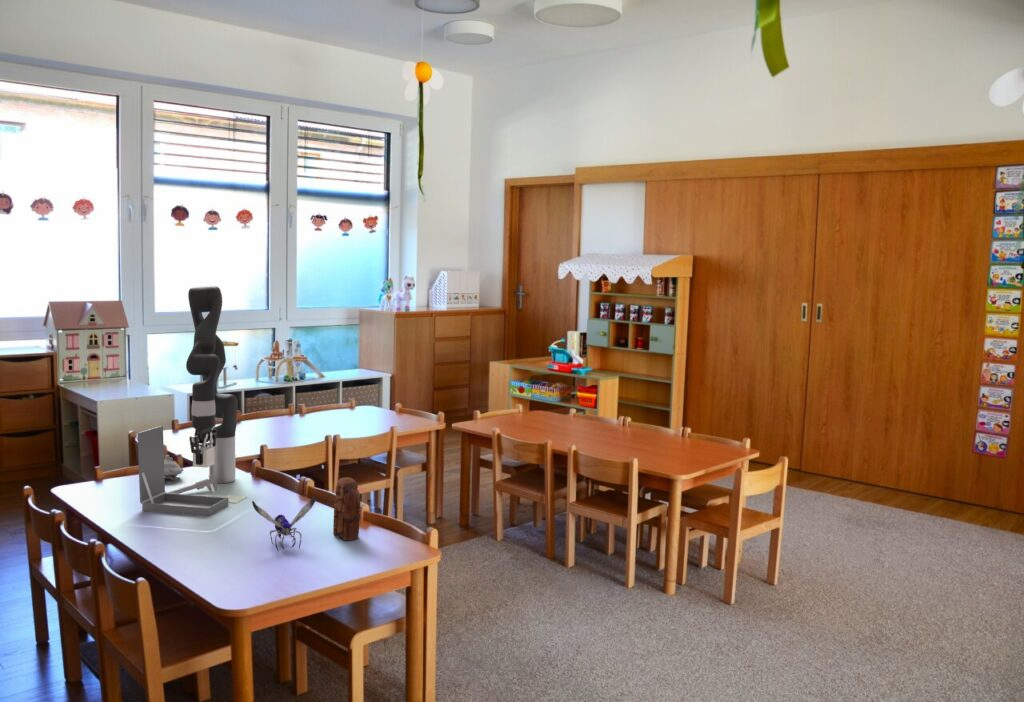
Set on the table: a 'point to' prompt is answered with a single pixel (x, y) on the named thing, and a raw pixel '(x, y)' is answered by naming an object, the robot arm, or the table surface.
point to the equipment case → (154, 482)
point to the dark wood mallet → (346, 509)
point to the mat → (234, 498)
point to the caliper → (198, 485)
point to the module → (205, 457)
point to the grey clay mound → (171, 468)
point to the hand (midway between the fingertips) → (203, 462)
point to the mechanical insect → (285, 521)
